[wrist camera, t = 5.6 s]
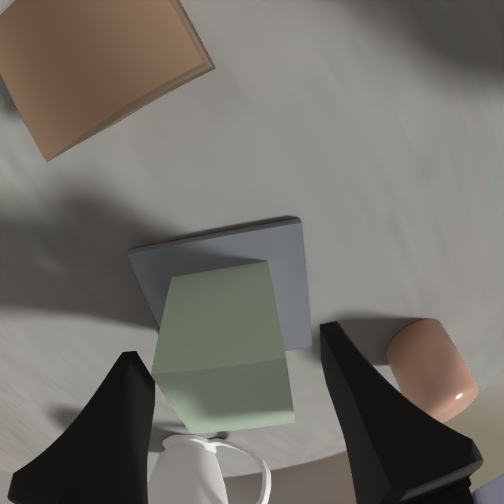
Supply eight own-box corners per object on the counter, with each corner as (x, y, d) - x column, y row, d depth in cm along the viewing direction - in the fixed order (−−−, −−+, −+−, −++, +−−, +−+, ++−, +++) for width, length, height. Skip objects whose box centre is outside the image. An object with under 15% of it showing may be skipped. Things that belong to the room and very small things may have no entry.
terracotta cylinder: (448, 311, 16) (489, 374, 12) (435, 355, 18) (465, 413, 14) (389, 328, 16) (424, 400, 12) (381, 371, 18) (406, 436, 14)
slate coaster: (299, 217, 13) (301, 222, 12) (310, 340, 16) (312, 346, 16) (129, 249, 13) (126, 254, 12) (179, 360, 16) (178, 365, 16)
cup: (128, 432, 21) (116, 523, 14) (242, 408, 19) (249, 524, 12) (180, 463, 25) (177, 540, 18) (281, 444, 23) (293, 533, 16)
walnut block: (166, -22, 8) (123, -77, 3) (215, 68, 10) (203, 63, 5) (70, 38, 8) (-17, 32, 4) (115, 123, 10) (46, 162, 6)
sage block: (279, 330, 15) (295, 422, 11) (197, 342, 15) (191, 433, 11) (268, 260, 13) (286, 358, 9) (171, 277, 13) (150, 374, 9)
